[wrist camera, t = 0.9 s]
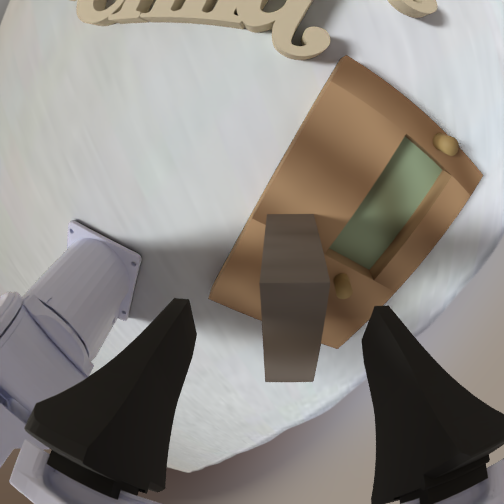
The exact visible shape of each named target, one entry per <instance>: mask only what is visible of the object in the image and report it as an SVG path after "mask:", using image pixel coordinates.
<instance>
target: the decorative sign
mask: <svg viewBox="0 0 504 504" xmlns="http://www.w3.org/2000/svg"><path fill="white" fill-rule="evenodd" d="M71 1H76V0H71ZM153 1H154V0H117V1H116V2H115V3H114V4H113V5H112V6H110V7H109V8H107V9H105V5H106V2H107V0H78V2H77V15H78V18H79V19H80V20H81V21H82V22H85V23H89V24H94V25H98V26H109V25H112V24H115V23H120V24H126V23H146V22H149V21H150V22H173V23H193V24H206V25H215V26H223V27H231V28H237V29H244V28H246V29H247V30H249V31H251V32H254V33H259V32H264V31H267V30H270V29H272V42H273V45H274V47H275V49H276V50H277V51H278V52H279V53H280V54H282V55H283V56H285V57H287V58H290V59H294V60H306V59H311V58H314V57H316V56H318V55H320V54H321V53H322V52H323V51H324V50H325V49H326V48H327V47H328V46H329V44H330V36H329V34H328V32H327V31H326V30H324V29H322V28H320V27H308V28H307V29H306V30H305V31H304V33H303V36H302V38H301V44H302V45H303V46H295V45H293V44H292V43H291V41H292V38H293V36H294V33H295V31H296V30H297V28H298V26H299V24H300V23H301V21H302V19H303V17H304V16H305V14H306V12H307V10H308V9H309V7H310V5H311V4H312V2H313V0H287V1H286V3H285V5H284V6H283V7H282V8H280V9H279V10H277V11H275V12H271V13H266V12H263V9H264V7H265V5H266V3H267V2H268V0H218V1H217V0H156V2H155V4H154V5H153V7H152V9H151V11H150V12H148V11H149V9H150V7H151V5H152V3H153ZM216 1H217V3H216ZM388 2H389V3H390V4H391V5H392V6H393V7H394V8H395V9H396V10H398V11H399V12H401V13H403V14H404V15H407V16H409V17H413V18H421V17H424V16H426V15H428V14H431V13H433V12H435V11H436V10H437V2H436V0H388ZM215 3H216V5H215ZM214 5H215V7H214ZM213 7H214V9H213ZM212 9H213V10H212Z"/></svg>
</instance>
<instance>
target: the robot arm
mask: <svg viewBox="0 0 504 504" xmlns="http://www.w3.org/2000/svg"><path fill="white" fill-rule="evenodd" d="M134 262H135V263H136V264H135V263H134ZM140 264H141V256H140V255H139V254H138V253H136V252H134V251H132V250H130V249H128V248H126V247H124V246H122V245H120V244H118V243H116V242H114V241H112V240H110V239H108V238H106V237H104V236H102V235H100V234H99V233H97V232H95V231H93V230H91V229H89V228H87V227H85V226H83V225H82V224H80V223H78V222H76V221H74V220H71V221H70V222H69V224H68V239H67V250H66V251H65V252H64V253H63V254H62V255H61V256H60V257H59V258H58V259H57V260H56V261H55V262H54V263H53V264H52V265H51V266H50V267H49V268H48V269H47V270H46V271H45V272H44V273H43V274H42V276H41V277H40V278H39V279H38V280H37V281H36V282H35V283H34V284H33V285H32V287H31V288H30V289H29V290H28V291H27V292H26V293H25V295H24V296H23V297H21V296H20V294H19V293H18V292H14V293H13V292H6V293H4V294H3V295H1V296H0V467H1V466H2V465H3V463H4V462H5V460H6V459H7V458H8V456H9V455H10V453H11V452H12V450H13V449H15V448H21V450H20V453H19V456H18V458H17V461H16V463H15V466H14V469H13V472H12V475H11V478H10V481H9V482H10V483H11V484H12V485H13V486H14V487H15V488H16V489H17V490H19V491H20V492H21V493H22V494H23V495H25V496H26V497H27V498H28V499H29V500H31V501H32V502H33V503H34V504H162V503H158V502H155V501H151V500H148V499H145V498H142V497H139V496H137V495H138V491H140V492H143V493H147V491H148V489H149V490H152V491H155V492H160V491H162V490H164V489H165V481H166V467H167V458H168V450H169V442H170V436H171V430H172V424H173V419H174V414H175V409H176V406H177V402H178V399H179V396H180V393H181V390H182V387H183V384H184V381H185V378H186V375H187V372H188V368H189V365H190V362H191V359H192V356H193V351H194V346H195V341H196V336H197V333H196V329H195V324H194V320H193V315H192V311H191V306H190V301H189V299H178V298H174V299H173V300H172V301H171V302H170V303H169V304H168V305H167V306H166V308H165V309H164V310H163V311H162V312H161V313H160V314H159V315H158V316H157V317H156V318H155V319H154V320H153V321H152V322H151V324H150V325H149V326H148V327H147V328H146V329H145V330H144V331H143V332H142V333H141V334H140V335H139V336H138V337H137V338H136V339H135V340H134V341H132V342H131V343H130V344H129V345H128V346H127V347H126V348H125V349H124V350H123V351H122V352H121V353H119V354H118V355H117V356H116V357H115V358H113V359H112V360H111V361H110V362H108V363H107V364H106V365H105V366H103V367H102V368H101V369H99V370H98V371H96V372H95V373H93V374H92V375H90V373H91V371H92V369H93V367H94V365H93V363H92V362H91V361H92V360H93V359H94V358H95V357H96V356H97V354H98V352H99V350H100V348H101V347H102V345H103V343H104V341H105V339H106V338H107V336H108V334H109V332H110V330H111V329H112V327H113V325H114V323H115V322H116V320H117V318H119V319H121V320H123V321H126V320H127V319H128V315H129V311H130V306H131V301H132V297H133V292H134V288H135V284H136V279H137V275H138V271H139V267H140ZM362 349H363V358H364V365H365V369H366V374H367V378H368V383H369V387H370V392H371V397H372V402H373V407H374V414H375V424H376V425H375V426H376V463H375V465H376V466H375V477H374V485H373V492H372V497H371V502H372V504H386V503H390V502H394V501H398V500H400V504H504V458H503V459H502V460H500V461H498V462H497V463H495V464H493V465H491V466H490V467H488V468H486V463H488V462H489V460H490V459H489V454H490V453H491V452H493V451H495V450H496V449H497V448H499V447H500V446H502V445H503V444H504V414H502V413H501V412H499V411H497V410H495V409H493V408H491V407H490V406H488V405H487V404H485V403H484V402H482V401H481V400H480V399H478V398H477V397H475V396H474V395H473V394H471V393H470V392H469V391H468V390H466V389H465V388H464V387H462V386H461V385H460V384H459V383H458V382H457V381H456V380H454V379H453V378H452V377H451V376H450V375H449V374H448V373H447V372H446V371H445V370H444V369H443V368H442V367H441V366H440V365H439V364H438V363H437V362H436V361H435V360H434V359H433V358H432V357H431V356H430V354H429V353H428V352H427V351H426V350H425V349H424V348H423V347H422V346H421V344H420V343H419V342H418V341H417V339H416V338H415V337H414V336H413V335H412V333H411V332H410V331H409V330H408V329H407V327H406V326H405V325H404V324H403V323H402V321H401V320H400V319H399V318H398V316H397V315H396V314H395V313H394V312H393V311H392V309H391V308H390V307H389V306H374V309H373V312H372V314H371V317H370V320H369V322H368V325H367V328H366V330H365V333H364V335H363V338H362ZM42 449H51V450H52V451H51V453H50V454H48V453H47V452H45V451H44V450H42Z"/></svg>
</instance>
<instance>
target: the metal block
mask: <svg viewBox="0 0 504 504" xmlns="http://www.w3.org/2000/svg"><path fill="white" fill-rule="evenodd" d="M259 284H260V300H261V316H262V333H263V349H264V366H265V382H313V381H314V376H315V371H316V366H317V361H318V356H319V351H320V346H321V340H322V334H323V328H324V322H325V316H326V310H327V303H328V296H329V289H330V278H329V274H328V269H327V265H326V261H325V257H324V252H323V248H322V244H321V240H320V236H319V232H318V228H317V225H316V221H315V217H314V214H267V217H266V227H265V236H264V246H263V255H262V264H261V273H260V282H259Z"/></svg>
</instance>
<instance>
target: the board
mask: <svg viewBox="0 0 504 504" xmlns="http://www.w3.org/2000/svg"><path fill="white" fill-rule="evenodd" d="M482 176H483V174H482V173H481V172H480V171H479V170H478V168H477V167H476V166H475V165H474V163H473V162H472V161H471V160H470V159H469V158H468V157H467V155H466V154H465V153H464V152H463V151H462V150H461V149H460V148H459V145H458V142H457V140H456V139H455V138H453V137H451V136H448V135H447V134H446V133H445V132H444V131H443V130H442V129H441V128H440V127H439V126H438V125H437V124H436V123H435V122H434V121H433V120H432V119H431V118H429V117H428V116H427V115H426V114H425V113H424V112H423V111H422V110H421V109H419V108H418V107H417V106H416V105H415V104H414V103H412V102H411V101H410V100H409V99H408V98H406V97H405V96H404V95H403V94H401V93H400V92H399V91H398V90H396V89H395V88H394V87H392V86H391V85H390V84H389V83H387V82H386V81H384V80H383V79H382V78H380V77H379V76H378V75H376V74H375V73H373V72H372V71H370V70H369V69H367V68H366V67H364V66H363V65H361V64H360V63H358V62H357V61H355V60H354V59H352V58H350V57H349V56H347V55H346V56H344V57H342V58H341V59H340V60H339V62H338V63H337V65H336V67H335V68H334V70H333V72H332V73H331V75H330V77H329V79H328V80H327V82H326V84H325V85H324V87H323V89H322V90H321V92H320V94H319V95H318V97H317V99H316V101H315V102H314V104H313V106H312V107H311V109H310V111H309V113H308V114H307V116H306V118H305V119H304V121H303V123H302V125H301V126H300V128H299V130H298V132H297V133H296V135H295V137H294V139H293V140H292V142H291V144H290V146H289V147H288V149H287V151H286V153H285V154H284V156H283V158H282V160H281V161H280V163H279V165H278V167H277V169H276V170H275V172H274V174H273V176H272V177H271V179H270V181H269V183H268V185H267V186H266V188H265V190H264V192H263V194H262V195H261V197H260V199H259V201H258V203H257V204H256V206H255V208H254V210H253V212H252V213H251V215H250V217H249V219H248V221H247V223H246V224H245V226H244V228H243V230H242V232H241V234H240V235H239V237H238V239H237V241H236V243H235V245H234V246H233V248H232V250H231V252H230V254H229V256H228V258H227V259H226V261H225V263H224V265H223V267H222V269H221V271H220V273H219V274H218V276H217V278H216V280H215V282H214V284H213V286H212V288H211V292H210V295H209V298H208V299H210V300H213V301H215V302H217V303H220V304H222V305H224V306H227V307H229V308H231V309H234V310H236V311H238V312H241V313H243V314H246V315H248V316H251V317H253V318H256V319H258V320H261V321H262V316H261V300H260V284H259V282H260V273H261V264H262V255H263V246H264V236H265V227H266V217H267V214H314V217H315V221H316V225H317V228H318V232H319V236H320V240H321V244H322V248H323V252H324V257H325V261H326V265H327V269H328V274H329V278H330V289H329V296H328V303H327V310H326V316H325V322H324V328H323V334H322V340H321V343H322V344H324V345H327V346H330V347H333V348H336V349H338V348H339V347H340V346H341V345H343V344H344V343H345V342H346V341H347V340H348V339H349V338H350V337H351V336H352V335H353V334H355V333H356V332H357V331H358V330H359V329H360V328H361V327H362V326H363V325H364V324H365V323H366V322H367V321H368V320H369V319H370V317H371V314H372V312H373V309H374V306H383V305H384V304H385V303H386V302H387V301H388V300H389V299H390V298H391V296H392V295H393V294H394V293H395V292H396V291H397V290H398V289H399V288H400V287H401V286H402V284H403V283H404V282H405V281H406V280H407V279H408V278H409V277H410V275H411V274H412V273H413V272H414V271H415V270H416V268H417V267H418V266H419V265H420V264H421V262H422V261H423V260H424V259H425V258H426V256H427V255H428V254H429V253H430V251H431V250H432V249H433V248H434V246H435V245H436V244H437V242H438V241H439V240H440V239H441V237H442V236H443V235H444V233H445V232H446V231H447V229H448V228H449V226H450V225H451V224H452V222H453V221H454V219H455V218H456V217H457V215H458V214H459V212H460V211H461V209H462V208H463V206H464V205H465V203H466V202H467V200H468V199H469V197H470V196H471V194H472V193H473V191H474V190H475V188H476V186H477V185H478V183H479V181H480V180H481V178H482Z"/></svg>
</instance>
